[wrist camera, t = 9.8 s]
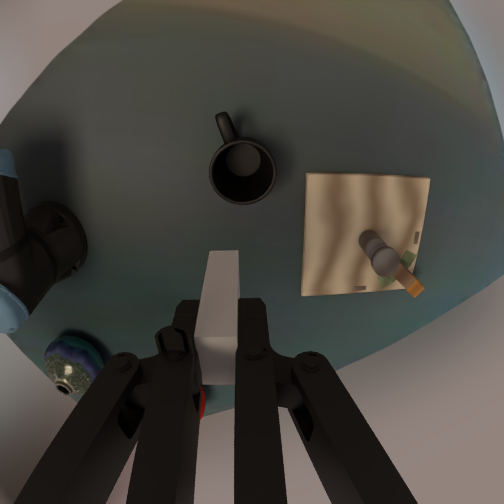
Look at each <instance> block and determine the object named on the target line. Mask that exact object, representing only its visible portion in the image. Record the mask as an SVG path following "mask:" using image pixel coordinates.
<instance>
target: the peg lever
mask: <svg viewBox="0 0 504 504" xmlns="http://www.w3.org/2000/svg"><path fill="white" fill-rule="evenodd" d="M359 245H360V247H361V248H362V249H363V251H364V252H365V254H366V255H367V256H368V258H369V259H370V261H371V266H372V268H373V270H374V271H375V273H376V274H377V275H379V276H381V277H387V276H390V275H392V276H393V277H394V278H395V279H396V280H397V281H398V282H399V283H400V284H401V285H403V286H404V287H405V289H406V290H407V291H408V292H409V293H410V294H411V295H412V296H413V297H414V298H415V297H416V296H417V295H418V294H419V293H420V292H421V291H422V290H423V289H424V286H423V285H422V284H421V283H420V281H419V280H418V279H417V278H416V277H415V276H414V275H413V274H412V273H411V272H410V271H409V270H408V269H407V268H406V267H405V266H404V265H403V264H402V263H401V262H400V256H399V255H398V253H397V252H396V251H395V250H394V249H393V248H392V247H389V246H387V245H386V243H385V242H384V241H383V240H382V239H381V238H380V237H379V235H378V234H377V233H376V232H375V231H373V230H366V231H364V232H363V233H362V234H361V235H360V237H359Z"/></svg>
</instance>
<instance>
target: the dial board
mask: <svg viewBox="0 0 504 504" xmlns="http://www.w3.org/2000/svg"><path fill="white" fill-rule="evenodd" d="M429 184H430V179H429V178H427V177H418V176H403V175H386V174H363V173H306V190H305V221H304V244H303V264H302V281H301V295H302V296H315V295H331V294H346V293H359V292H372V291H384V290H396V289H405V287H404V286H403V285H401V284H400V283H399V282H398V281H397V280H396V279H395V278H394V277H393V276H392V275H390V276H387V277H381V276H379V275H377V274H376V273H375V271H374V270H373V268H372V266H371V261H370V259H369V258H368V256H367V255H366V254H365V252H364V251H363V249H362V248H361V247H360V245H359V237H360V235H361V234H362V233H363V232H364V231H366V230H373V231H375V232H376V233H377V234H378V235H379V237H380V238H381V239H382V240H383V241H384V242H385V243H386V245H387V246H389V247H392V248H393V249H394V250H395V251H396V252H397V253H398V255H399V256H400V262H401V263H402V264H403V265H404V266H405V267H406V268H407V269H408V270H409V271H410V272H411V273H412V274H413V270H414V266H415V261H416V257H417V253H418V248H419V243H420V238H421V233H422V228H423V223H424V217H425V211H426V205H427V199H428V192H429Z"/></svg>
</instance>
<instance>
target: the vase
mask: <svg viewBox="0 0 504 504" xmlns="http://www.w3.org/2000/svg"><path fill="white" fill-rule="evenodd" d="M44 364H45V368H46V371H47V373H48V375H49V376H50V378H51V379H52V381H53V382H54V383H55V384H56V385H55V386H56V389H57V390H58V391H59V392H60V393H62V394H64V395H67V396H69V395H71V394H73V395H80V396H83V395H84V394H85V392H86V391H87V389H88V388H89V386H90V385H91V384H92V382H93V381H94V379H95V378H96V377H97V375H98V374H99V372H100V371H101V370H102V368H103V367H104V361H103V359H102V356H101V355H100V353H99V351H98V350H97V349H96V348H95V347H94V346H93V345H92V344H91V343H89V342H88V341H86V340H85V339H83V338H80V337H77V336H73V335H65V336H61V337H59V338H57V339H55V340H54V341H52V342H51V343H50V344H49V346H48V347H47V349H46V352H45V356H44Z"/></svg>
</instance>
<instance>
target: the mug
mask: <svg viewBox="0 0 504 504" xmlns="http://www.w3.org/2000/svg"><path fill="white" fill-rule="evenodd" d="M215 119H216V122H217V125H218V128H219V131H220V133H221V136H222V138H223V141H224V144H223V145H222V146H221V147H220V148H219V149H218V150H217V152H216V153H215V154H214V156H213V158H212V160H211V163H210V167H209V178H210V182H211V185H212V187H213V188H214V190H215V191H216V193H217V194H218V195H219V196H220V197H222V198H223V199H224V200H226V201H228V202H230V203H233V204H238V205H248V204H253V203H255V202H258V201H260V200H261V199H263V198H264V197H266V196H267V195H268V193H269V192H270V191H271V190H272V188H273V186H274V184H275V181H276V175H277V169H276V163H275V161H274V159H273V156H272V154H271V153H270V151H269V150H268V149H267V147H266V146H264V145H263V144H262V143H261V142H259V141H257V140H255V139H251V138H242V137H240V138H239V137H238V134H237V131H236V129H235V127H234V125H233V123H232V121H231V119H230V117H229V115H228V113H227V112H221V113H218V114H216V115H215Z"/></svg>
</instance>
